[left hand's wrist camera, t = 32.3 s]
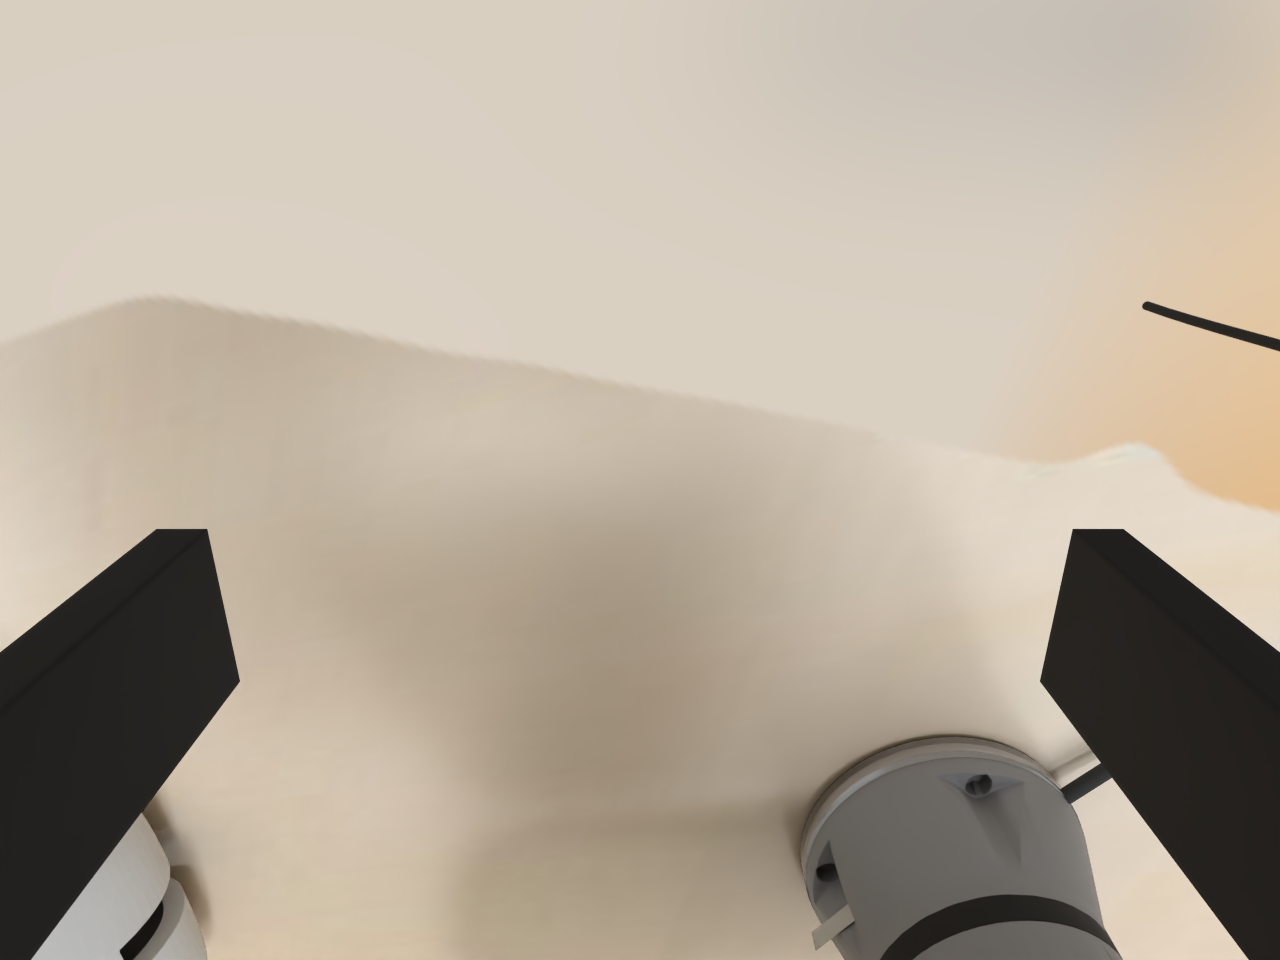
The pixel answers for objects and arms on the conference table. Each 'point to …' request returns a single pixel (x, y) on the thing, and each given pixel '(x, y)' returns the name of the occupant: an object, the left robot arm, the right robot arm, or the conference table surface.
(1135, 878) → the conference table surface
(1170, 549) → the conference table surface
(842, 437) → the conference table surface
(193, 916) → the projector
